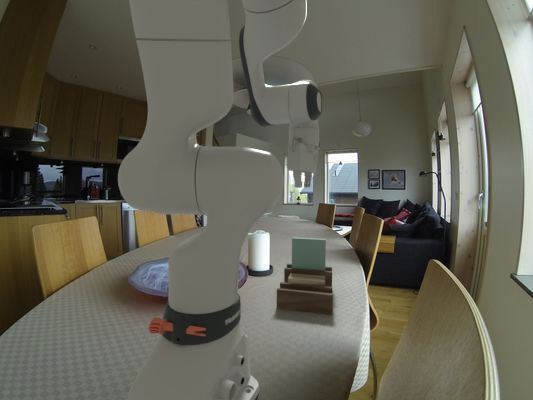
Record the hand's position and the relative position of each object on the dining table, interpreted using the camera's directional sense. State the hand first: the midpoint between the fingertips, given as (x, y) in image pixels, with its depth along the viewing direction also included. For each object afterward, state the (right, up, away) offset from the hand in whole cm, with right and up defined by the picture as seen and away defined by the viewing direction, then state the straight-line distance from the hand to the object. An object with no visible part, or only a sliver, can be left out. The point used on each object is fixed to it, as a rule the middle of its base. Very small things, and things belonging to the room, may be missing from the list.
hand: (303, 187), depth 76 cm
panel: (+2, -31, +2) cm, 32 cm away
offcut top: (+1, -28, -3) cm, 28 cm away
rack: (+1, -33, -3) cm, 33 cm away
